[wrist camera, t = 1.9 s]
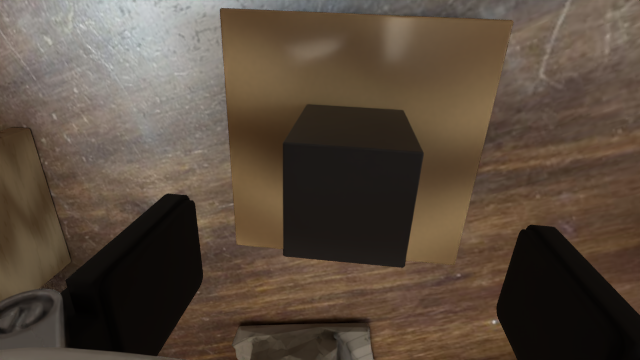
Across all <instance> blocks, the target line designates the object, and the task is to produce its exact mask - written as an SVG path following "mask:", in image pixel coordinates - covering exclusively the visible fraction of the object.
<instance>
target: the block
mask: <svg viewBox="0 0 640 360" xmlns="http://www.w3.org/2000/svg"><path fill="white" fill-rule="evenodd" d="M423 157H424V152H423V150H422V148H421V146H420V144H419V142H418V139H417V137H416V135H415V133H414V131H413V129H412V127H411V125H410V123H409V121H408V118H407V116H406V114H405V112H404V110H395V109H379V108H362V107H346V106H330V105H314V104H307V105H306V107H305V108H304V110H303V111H302V113H301V115H300V116H299V118H298V119H297V121H296V123H295V124H294V126H293V127H292V129H291V131H290V132H289V134H288V135H287V137H286V139H285V140H284V142H283V255H284V256H286V257H296V258H307V259H317V260H328V261H338V262H349V263H359V264H370V265H380V266H391V267H401V268H403V267H404V266H405V262H406V256H407V250H408V244H409V238H410V232H411V227H412V221H413V215H414V209H415V203H416V197H417V192H418V186H419V180H420V174H421V168H422V162H423Z"/></svg>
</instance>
